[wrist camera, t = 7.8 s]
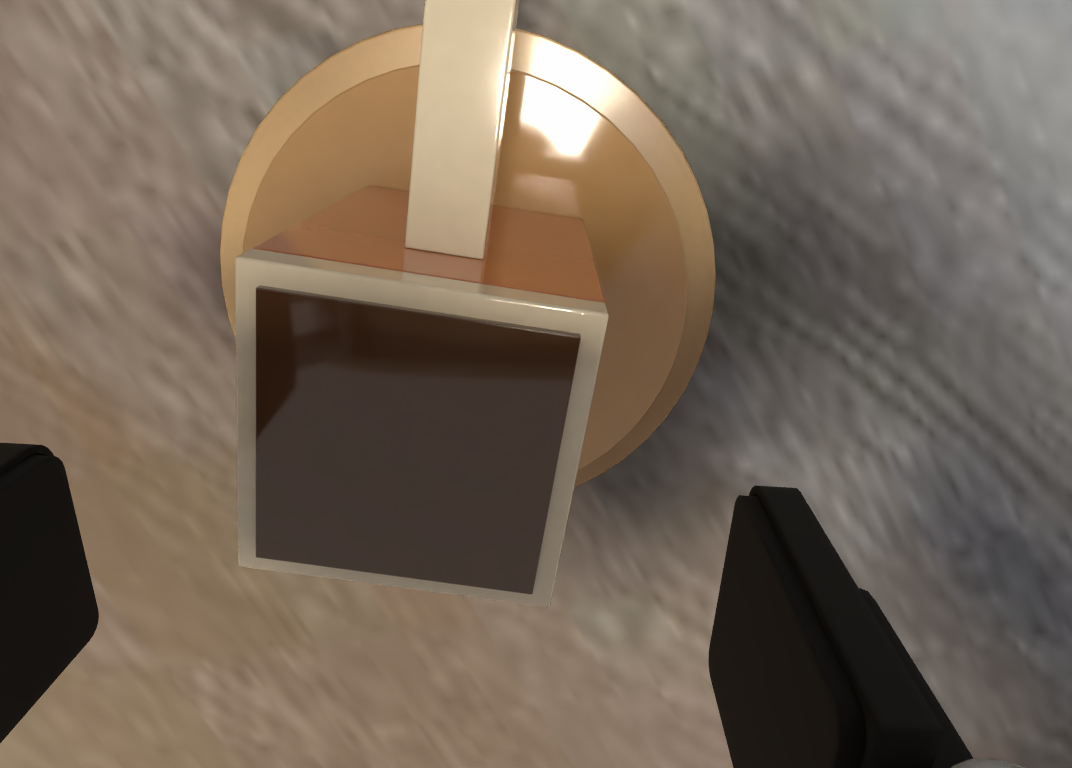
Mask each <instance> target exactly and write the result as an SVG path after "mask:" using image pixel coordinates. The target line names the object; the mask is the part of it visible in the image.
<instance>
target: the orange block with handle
mask: <svg viewBox="0 0 1072 768" xmlns="http://www.w3.org/2000/svg"><path fill="white" fill-rule="evenodd" d="M519 1H520V0H425V4H424V16H423V29H422V41H421V53H420V65H415V66H410V67H405V68H399V69H395V70H392V71H389V72H387V73H384V74H381V75H378V76H375V77H372V78H370V79H367V80H364V81H363V82H361V83H359V84H357V85H355V86H353V87H351V88H349V89H348V90H346V91H344V92H342V93H340V94H338V95H337V96H335V97H334V98H333V99H331V100H330V101H329V102H327V103H326V104H325V105H323V106H322V107H320V108H319V109H318V110H316V111H315V112H314V113H312V114H311V115H310V116H309V117H308V118H307V119H306V120H305V121H304V122H303V123H302V124H301V125H300V126H299V127H298V128H297V129H296V130H295V131H294V132H293V134H292V135H291V136H290V137H289V138H288V140H287V141H286V142H285V144H284V145H283V146H282V148H281V149H280V151H279V152H278V153H277V155H276V156H275V157H274V159H273V160H272V162H271V164H270V166H269V168H268V170H267V172H266V174H265V175H264V177H263V179H262V181H261V183H260V185H259V187H258V190H257V193H256V196H255V198H254V201H253V204H252V207H251V210H250V212H249V216H248V221H247V226H246V231H245V236H244V241H243V253H242V254H240V255H239V256H237V257H236V258H235V322H236V410H237V499H238V565H239V566H241V567H249V568H256V569H264V570H271V571H279V572H286V573H293V574H301V575H308V576H316V577H323V578H331V579H338V580H346V581H353V582H360V583H368V584H375V585H383V586H390V587H398V588H405V589H413V590H420V591H427V592H435V593H442V594H450V595H457V596H465V597H472V598H479V599H487V600H494V601H502V602H509V603H517V604H524V605H532V606H539V607H546V608H547V607H549V606H550V605H551V600H552V595H553V590H554V585H555V580H556V575H557V570H558V565H559V561H560V556H561V551H562V546H563V541H564V536H565V531H566V526H567V521H568V516H569V511H570V506H571V501H572V496H573V492H574V487H575V482H576V477H577V472H578V470H579V469H581V468H583V467H584V466H586V465H588V464H590V463H591V462H593V461H594V460H596V459H597V458H598V457H600V456H601V455H603V454H604V453H606V452H607V451H608V450H610V449H611V448H612V447H613V446H614V445H615V444H617V443H618V442H619V441H620V440H621V439H622V438H623V437H624V436H625V435H626V434H627V433H629V432H630V431H631V430H632V428H633V427H634V426H635V425H636V424H637V422H638V421H639V420H640V419H641V418H642V417H643V415H644V414H645V413H646V412H647V411H648V409H649V407H650V406H651V404H652V403H653V401H654V400H655V398H656V397H657V395H658V394H659V392H660V390H661V389H662V387H663V385H664V383H665V381H666V378H667V376H668V374H669V372H670V370H671V368H672V366H673V363H674V360H675V357H676V354H677V351H678V348H679V345H680V342H681V338H682V333H683V327H684V322H685V316H686V310H687V285H688V281H687V270H686V260H685V252H684V248H683V243H682V239H681V235H680V231H679V226H678V223H677V220H676V218H675V215H674V213H673V210H672V207H671V205H670V202H669V200H668V197H667V195H666V193H665V191H664V189H663V188H662V186H661V184H660V182H659V180H658V179H657V177H656V175H655V173H654V171H653V170H652V168H651V167H650V165H649V164H648V163H647V161H646V160H645V159H644V157H643V156H642V155H641V153H640V152H639V151H638V149H637V148H636V147H635V145H634V144H633V143H632V142H631V141H630V140H629V139H628V138H627V137H626V136H625V135H624V134H623V133H622V132H621V131H620V130H619V129H618V128H617V127H616V126H615V125H614V124H613V123H612V122H611V121H610V120H609V119H608V118H607V117H605V116H604V115H603V114H601V113H600V112H599V111H597V110H596V109H595V108H594V107H592V106H591V105H590V104H588V103H587V102H586V101H584V100H583V99H581V98H579V97H577V96H576V95H574V94H572V93H570V92H568V91H567V90H565V89H563V88H561V87H560V86H558V85H556V84H554V83H551V82H549V81H546V80H544V79H541V78H539V77H536V76H533V75H531V74H528V73H526V72H522V71H518V70H514V69H511V63H512V56H513V48H514V40H515V32H516V24H517V17H518V9H519Z"/></svg>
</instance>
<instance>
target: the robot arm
mask: <svg viewBox="0 0 1072 768" xmlns="http://www.w3.org/2000/svg"><path fill="white" fill-rule="evenodd" d="M98 618H99V613H98V607H97V603H96V599H95V594H94V590H93V586H92V582H91V577H90V573H89V569H88V565H87V560H86V556H85V552H84V548H83V543H82V539H81V535H80V531H79V526H78V522H77V518H76V514H75V510H74V505H73V501H72V497H71V493H70V488H69V484H68V480H67V476H66V471H65V467H64V465H63V462H62V461H61V460H60V459H59V458H57V457H55V456H54V455H53V453H52V452H51V451H50V450H49V448H47V447H45V446H43V445H31V444H14V443H0V743H1V742H2V741H3V740H4V738H5V737H6V736H7V735H8V734H9V733H10V732H11V730H12V729H13V728H14V727H15V726H16V725H17V723H18V722H19V721H20V720H21V719H22V718H23V717H24V715H25V714H26V713H27V712H28V711H29V710H30V708H31V707H32V706H33V705H34V704H35V703H36V702H37V700H38V699H39V698H40V697H41V696H42V695H43V694H44V692H45V691H46V690H47V689H48V688H49V687H50V685H51V684H52V683H53V682H54V681H55V680H56V679H57V677H58V676H59V675H60V674H61V673H62V672H63V670H64V669H65V668H66V667H67V666H68V665H69V664H70V662H71V661H72V660H73V659H74V658H75V657H76V655H77V654H78V653H79V652H80V651H81V650H82V649H83V647H84V646H85V645H86V644H87V643H88V642H89V640H90V639H91V638H92V636H93V635H94V632H95V630H96V628H97V624H98ZM709 671H710V677H711V681H712V685H713V689H714V693H715V697H716V701H717V705H718V709H719V713H720V717H721V720H722V724H723V728H724V732H725V736H726V740H727V744H728V748H729V752H730V756H731V760H732V764H733V767H734V768H1025V767H1023V766H1021V765H1018V764H1013V763H1009V762H1005V761H1001V760H996V759H973V757H972V755H971V754H970V752H969V750H968V749H967V747H966V746H965V744H964V742H963V741H962V739H961V738H960V736H959V734H958V733H957V731H956V730H955V728H954V726H953V725H952V723H951V721H950V720H949V718H948V717H947V715H946V713H945V712H944V710H943V709H942V707H941V705H940V704H939V702H938V701H937V699H936V697H935V696H934V694H933V693H932V691H931V689H930V688H929V686H928V684H927V683H926V681H925V680H924V678H923V676H922V675H921V673H920V672H919V670H918V668H917V667H916V665H915V664H914V662H913V660H912V659H911V657H910V655H909V654H908V652H907V651H906V649H905V647H904V646H903V644H902V643H901V641H900V639H899V638H898V636H897V635H896V633H895V631H894V630H893V628H892V627H891V625H890V623H889V622H888V620H887V618H886V617H885V615H884V614H883V612H882V610H881V609H880V607H879V606H878V604H877V602H876V601H875V599H874V598H873V597H872V596H871V595H870V593H869V592H868V591H865V590H863V589H861V588H858V587H857V585H856V583H855V582H854V580H853V578H852V577H851V575H850V573H849V572H848V570H847V569H846V567H845V565H844V564H843V562H842V560H841V559H840V557H839V555H838V554H837V552H836V550H835V549H834V547H833V545H832V544H831V542H830V540H829V539H828V537H827V535H826V534H825V532H824V530H823V529H822V527H821V525H820V524H819V522H818V520H817V519H816V517H815V515H814V514H813V512H812V510H811V509H810V507H809V505H808V504H807V502H806V500H805V499H804V497H803V495H802V494H801V492H800V491H799V490H798V489H797V488H786V487H769V486H754V487H753V488H752V489H751V491H750V494H749V496H742V495H739V496H738V497H737V499H736V502H735V506H734V512H733V517H732V523H731V529H730V534H729V540H728V546H727V551H726V557H725V563H724V568H723V574H722V580H721V585H720V591H719V597H718V602H717V608H716V613H715V619H714V625H713V630H712V636H711V642H710V648H709Z"/></svg>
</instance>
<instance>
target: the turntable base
mask: <svg viewBox="0 0 1072 768" xmlns="http://www.w3.org/2000/svg"><path fill="white" fill-rule="evenodd" d="M422 29H423V24H420V25H414V26H408V27H402V28H397V29H394V30H391V31H388V32H385V33H382V34H379V35H376V36H373V37H370V38H367V39H364V40H361V41H359V42H357V43H356V44H354V45H352V46H350V47H348V48H346V49H344V50H342V51H340V52H338V53H336V54H334V55H332V56H330V57H329V58H327V59H326V60H325V61H323V62H322V63H321V64H319V65H318V66H316V67H315V68H314V69H312V70H311V71H309V72H308V73H307V74H305V75H304V76H302V77H301V78H300V79H299V80H298V81H297V82H296V83H295V84H294V85H293V86H292V87H291V88H290V89H289V90H288V91H287V92H286V93H285V94H284V95H283V96H282V97H281V98H280V99H279V100H278V101H277V102H276V103H275V105H274V106H273V107H272V109H271V110H270V111H269V113H268V114H267V115H266V117H265V118H264V119H263V121H262V122H261V123H260V125H259V126H258V127H257V129H256V131H255V132H254V134H253V136H252V138H251V140H250V142H249V143H248V145H247V147H246V149H245V151H244V153H243V154H242V156H241V158H240V161H239V164H238V166H237V169H236V172H235V174H234V177H233V180H232V183H231V185H230V188H229V192H228V197H227V201H226V206H225V211H224V215H223V220H222V233H221V246H220V261H221V277H222V288H223V293H224V298H225V303H226V308H227V313H228V317H229V320H230V323H231V326H232V329H233V332H234V335H235V338H236V322H235V258H236V257H237V256H239V255H240V254H242V253H243V241H244V236H245V231H246V226H247V221H248V216H249V212H250V210H251V207H252V204H253V201H254V198H255V196H256V193H257V190H258V187H259V185H260V183H261V181H262V179H263V177H264V175H265V174H266V172H267V170H268V168H269V166H270V164H271V162H272V160H273V159H274V157H275V156H276V155H277V153H278V152H279V151H280V149H281V148H282V146H283V145H284V144H285V142H286V141H287V140H288V138H289V137H290V136H291V135H292V134H293V132H294V131H295V130H296V129H297V128H298V127H299V126H300V125H301V124H302V123H303V122H304V121H305V120H306V119H307V118H308V117H309V116H310V115H311V114H312V113H314V112H315V111H316V110H318V109H319V108H320V107H322V106H323V105H325V104H326V103H327V102H329V101H330V100H331V99H333V98H334V97H335V96H337V95H338V94H340V93H342V92H344V91H346V90H348V89H349V88H351V87H353V86H355V85H357V84H359V83H361V82H363V81H364V80H367V79H370V78H372V77H375V76H378V75H381V74H384V73H387V72H389V71H392V70H395V69H399V68H405V67H410V66H415V65H420V53H421V41H422ZM511 69H514V70H518V71H522V72H526V73H528V74H531V75H533V76H536V77H539V78H541V79H544V80H546V81H549V82H551V83H554V84H556V85H558V86H560V87H561V88H563V89H565V90H567V91H568V92H570V93H572V94H574V95H576V96H577V97H579V98H581V99H583V100H584V101H586V102H587V103H588V104H590V105H591V106H592V107H594V108H595V109H596V110H597V111H599V112H600V113H601V114H603V115H604V116H605V117H607V118H608V119H609V120H610V121H611V122H612V123H613V124H614V125H615V126H616V127H617V128H618V129H619V130H620V131H621V132H622V133H623V134H624V135H625V136H626V137H627V138H628V139H629V140H630V141H631V142H632V143H633V144H634V145H635V147H636V148H637V149H638V151H639V152H640V153H641V155H642V156H643V157H644V159H645V160H646V161H647V163H648V164H649V165H650V167H651V168H652V170H653V171H654V173H655V175H656V177H657V179H658V180H659V182H660V184H661V186H662V188H663V189H664V191H665V193H666V195H667V197H668V200H669V202H670V205H671V207H672V210H673V213H674V215H675V218H676V220H677V223H678V226H679V231H680V235H681V239H682V243H683V248H684V252H685V260H686V270H687V281H688V285H687V310H686V316H685V322H684V327H683V333H682V338H681V342H680V345H679V348H678V351H677V354H676V357H675V360H674V363H673V366H672V368H671V370H670V372H669V374H668V376H667V378H666V381H665V383H664V385H663V387H662V389H661V390H660V392H659V394H658V395H657V397H656V398H655V400H654V401H653V403H652V404H651V406H650V407H649V409H648V411H647V412H646V413H645V414H644V415H643V417H642V418H641V419H640V420H639V421H638V422H637V424H636V425H635V426H634V427H633V428H632V430H631V431H630V432H629V433H627V434H626V435H625V436H624V437H623V438H622V439H621V440H620V441H619V442H618V443H617V444H615V445H614V446H613V447H612V448H611V449H610V450H608V451H607V452H606V453H604V454H603V455H601V456H600V457H598V458H597V459H596V460H594V461H593V462H591V463H590V464H588V465H586V466H584V467H583V468H581V469H579V470H578V472H577V477H576V482H575V487H577V486H579V485H581V484H583V483H585V482H587V481H589V480H591V479H593V478H595V477H597V476H599V475H600V474H602V473H604V472H605V471H607V470H608V469H610V468H611V467H613V466H614V465H616V464H617V463H619V462H620V461H622V460H623V459H625V458H626V457H627V456H628V455H629V454H630V453H632V452H633V451H634V450H635V449H636V448H637V447H638V446H640V445H641V444H642V443H643V442H644V441H645V440H647V438H648V437H649V436H650V435H651V434H652V433H653V432H654V431H655V430H656V428H657V427H658V426H659V425H660V424H661V423H662V422H663V421H664V420H665V418H666V417H667V416H668V414H669V413H670V411H671V410H672V408H673V407H674V406H675V404H676V403H677V401H678V400H679V398H680V397H681V395H682V394H683V392H684V390H685V388H686V386H687V384H688V383H689V381H690V379H691V377H692V375H693V373H694V371H695V369H696V367H697V364H698V361H699V359H700V356H701V353H702V350H703V348H704V345H705V342H706V339H707V335H708V330H709V326H710V321H711V317H712V312H713V305H714V293H715V280H716V272H715V254H714V242H713V237H712V232H711V227H710V221H709V216H708V212H707V209H706V206H705V203H704V200H703V197H702V194H701V191H700V188H699V185H698V182H697V179H696V177H695V175H694V173H693V171H692V169H691V167H690V165H689V163H688V161H687V159H686V157H685V155H684V153H683V151H682V149H681V148H680V146H679V145H678V143H677V142H676V141H675V139H674V138H673V136H672V135H671V133H670V132H669V130H668V129H667V127H666V126H665V125H664V123H663V122H662V120H661V119H660V118H659V117H658V116H657V115H656V114H655V112H654V111H653V110H652V109H651V108H650V107H649V106H648V105H647V104H646V103H645V101H644V100H643V99H642V98H641V97H640V96H639V95H638V94H637V93H636V92H635V91H634V90H632V89H631V88H630V87H629V86H628V85H626V84H625V83H624V82H623V81H622V80H620V79H619V78H618V77H617V76H616V75H614V74H613V73H612V72H611V71H610V70H608V69H607V68H605V67H603V66H602V65H600V64H598V63H597V62H595V61H594V60H592V59H590V58H589V57H587V56H585V55H584V54H582V53H581V52H579V51H577V50H575V49H573V48H570V47H568V46H566V45H563V44H561V43H559V42H557V41H554V40H552V39H550V38H547V37H545V36H543V35H539V34H535V33H532V32H528V31H524V30H521V29H517V28H516V32H515V40H514V48H513V56H512V63H511Z"/></svg>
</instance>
